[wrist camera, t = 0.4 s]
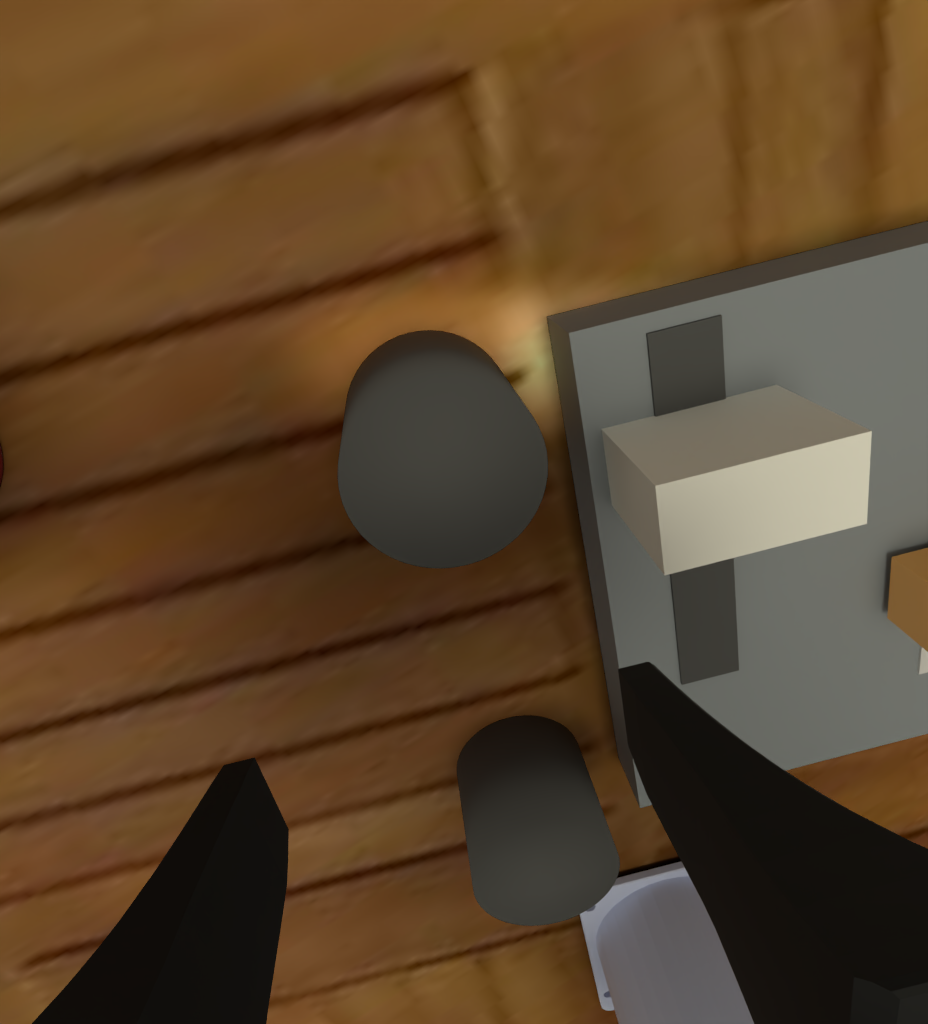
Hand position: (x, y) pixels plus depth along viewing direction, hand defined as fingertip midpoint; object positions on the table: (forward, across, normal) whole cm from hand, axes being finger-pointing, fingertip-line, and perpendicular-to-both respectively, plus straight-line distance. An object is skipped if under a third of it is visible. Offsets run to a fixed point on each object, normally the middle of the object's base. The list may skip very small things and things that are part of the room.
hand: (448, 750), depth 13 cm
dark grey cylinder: (+10, -1, +11) cm, 15 cm away
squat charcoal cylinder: (+10, -1, -4) cm, 11 cm away
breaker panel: (+10, -13, +3) cm, 17 cm away
